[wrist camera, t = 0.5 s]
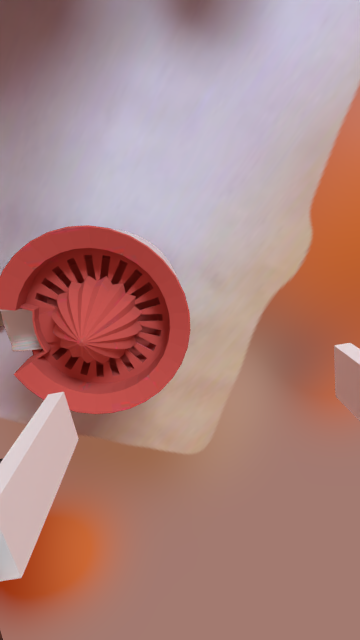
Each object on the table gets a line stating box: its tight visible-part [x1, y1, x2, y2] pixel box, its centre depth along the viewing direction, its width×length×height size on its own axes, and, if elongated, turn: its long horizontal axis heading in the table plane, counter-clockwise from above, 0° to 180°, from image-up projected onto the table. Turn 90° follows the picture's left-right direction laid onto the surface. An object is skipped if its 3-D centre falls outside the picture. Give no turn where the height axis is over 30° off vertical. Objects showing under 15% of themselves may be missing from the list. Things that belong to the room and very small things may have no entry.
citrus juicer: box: [0, 225, 190, 414], centre depth 32 cm, size 16×17×20 cm
